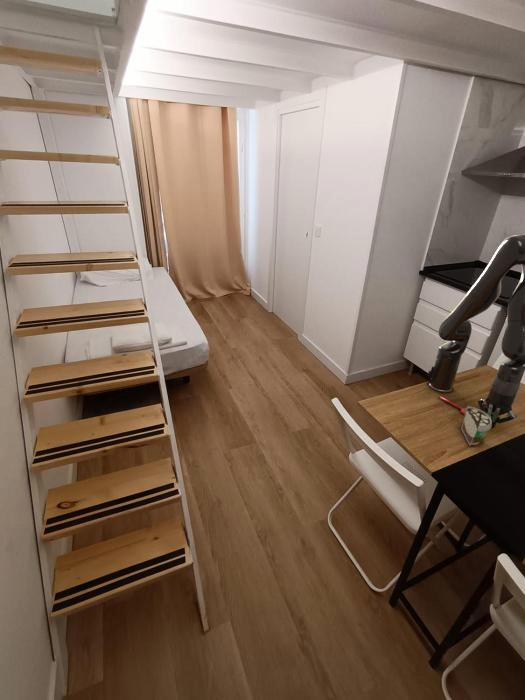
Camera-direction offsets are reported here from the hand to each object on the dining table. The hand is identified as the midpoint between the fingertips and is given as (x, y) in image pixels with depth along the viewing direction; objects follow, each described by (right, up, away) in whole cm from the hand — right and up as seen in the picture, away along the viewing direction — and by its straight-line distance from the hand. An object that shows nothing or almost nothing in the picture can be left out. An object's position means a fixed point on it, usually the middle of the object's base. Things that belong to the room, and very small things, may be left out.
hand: (489, 427), depth 125 cm
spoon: (-4, +5, +14) cm, 16 cm away
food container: (-7, -3, -3) cm, 9 cm away
